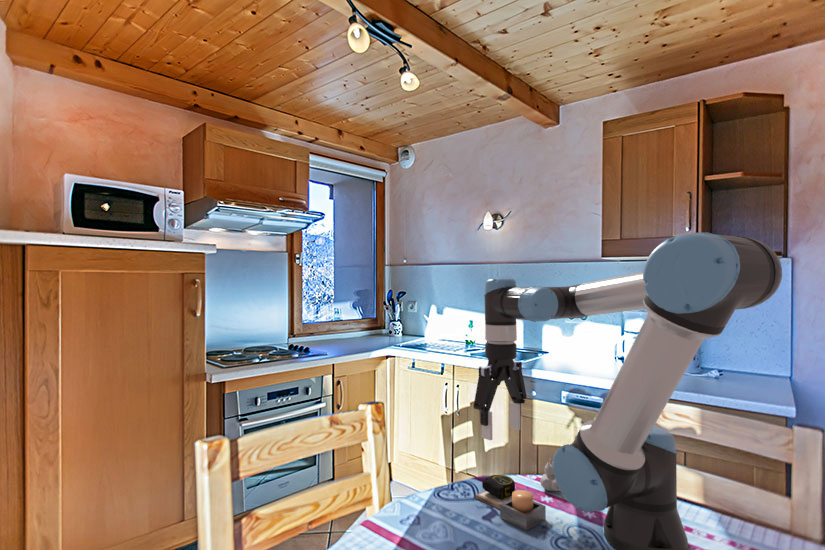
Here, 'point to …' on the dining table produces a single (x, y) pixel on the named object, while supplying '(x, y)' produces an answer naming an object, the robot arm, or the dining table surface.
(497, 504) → the wooden square coaster
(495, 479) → the tape measure
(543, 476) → the bunny figurine
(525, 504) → the button
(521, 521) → the button box
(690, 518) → the dining table surface
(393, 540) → the dining table surface
